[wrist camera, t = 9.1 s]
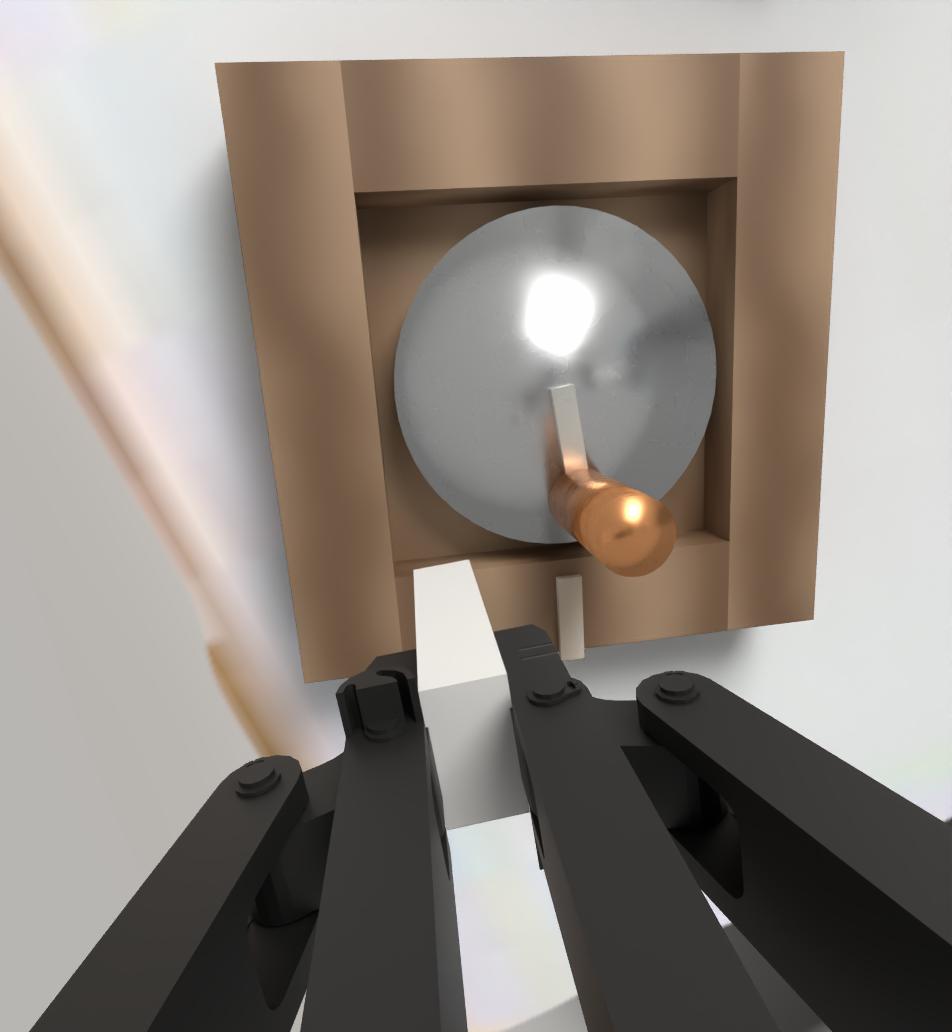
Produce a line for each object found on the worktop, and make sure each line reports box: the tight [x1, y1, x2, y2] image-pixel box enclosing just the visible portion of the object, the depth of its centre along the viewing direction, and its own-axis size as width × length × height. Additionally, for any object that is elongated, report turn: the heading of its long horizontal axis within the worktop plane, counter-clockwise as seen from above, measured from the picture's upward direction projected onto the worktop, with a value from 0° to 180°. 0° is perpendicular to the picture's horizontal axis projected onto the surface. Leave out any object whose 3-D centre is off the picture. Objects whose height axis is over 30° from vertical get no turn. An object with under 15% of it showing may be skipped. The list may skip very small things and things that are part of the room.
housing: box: [215, 51, 845, 683], centre depth 26 cm, size 22×22×5 cm
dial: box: [394, 206, 717, 577], centre depth 22 cm, size 13×13×8 cm
